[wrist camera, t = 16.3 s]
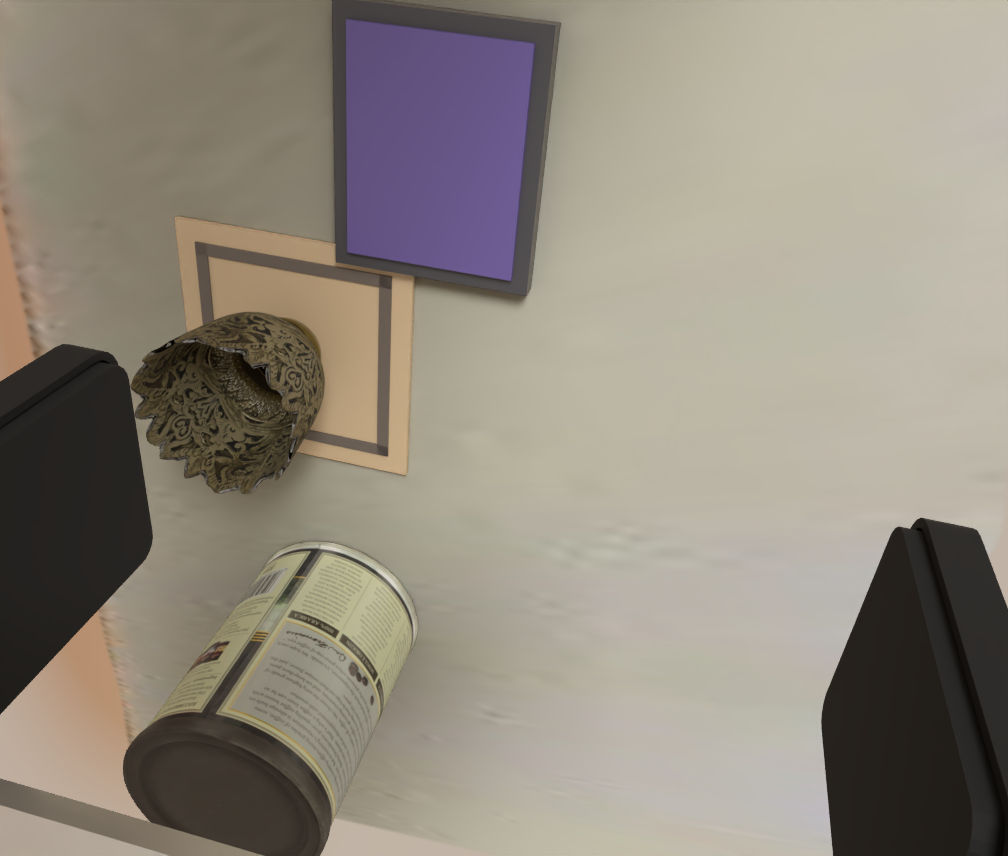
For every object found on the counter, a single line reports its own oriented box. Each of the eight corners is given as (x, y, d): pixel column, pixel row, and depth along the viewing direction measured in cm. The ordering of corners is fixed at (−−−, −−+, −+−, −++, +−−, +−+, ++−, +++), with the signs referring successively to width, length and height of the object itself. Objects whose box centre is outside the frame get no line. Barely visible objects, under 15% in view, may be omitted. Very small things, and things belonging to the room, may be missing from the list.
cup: (276, 428, 47) (195, 513, 40) (197, 307, 44) (97, 377, 37) (389, 384, 43) (322, 469, 37) (311, 252, 41) (224, 317, 34)
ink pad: (342, -5, 35) (328, -3, 34) (560, 22, 34) (554, 26, 33) (344, 255, 41) (333, 264, 40) (531, 288, 39) (524, 298, 38)
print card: (177, 216, 42) (173, 218, 42) (415, 257, 40) (412, 260, 40) (201, 428, 48) (197, 431, 48) (407, 472, 46) (405, 476, 46)
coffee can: (383, 696, 56) (285, 905, 44) (240, 618, 55) (102, 808, 43) (448, 597, 50) (355, 807, 38) (290, 509, 50) (147, 694, 38)
